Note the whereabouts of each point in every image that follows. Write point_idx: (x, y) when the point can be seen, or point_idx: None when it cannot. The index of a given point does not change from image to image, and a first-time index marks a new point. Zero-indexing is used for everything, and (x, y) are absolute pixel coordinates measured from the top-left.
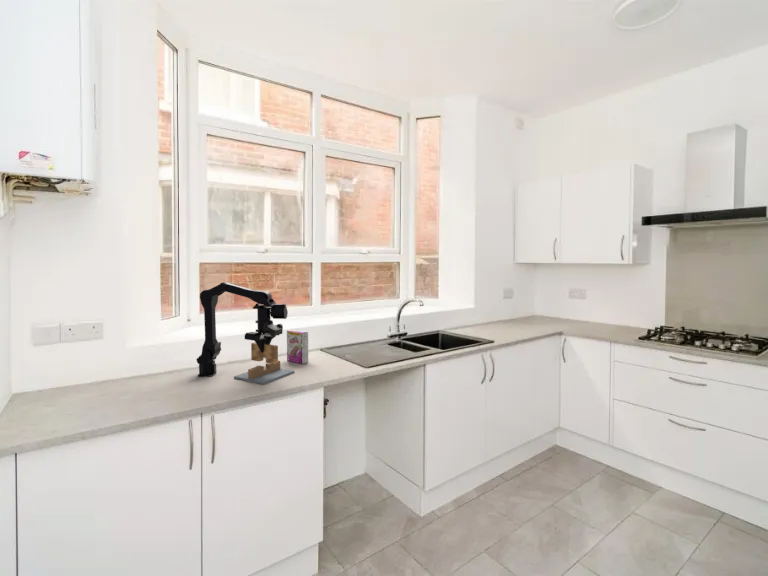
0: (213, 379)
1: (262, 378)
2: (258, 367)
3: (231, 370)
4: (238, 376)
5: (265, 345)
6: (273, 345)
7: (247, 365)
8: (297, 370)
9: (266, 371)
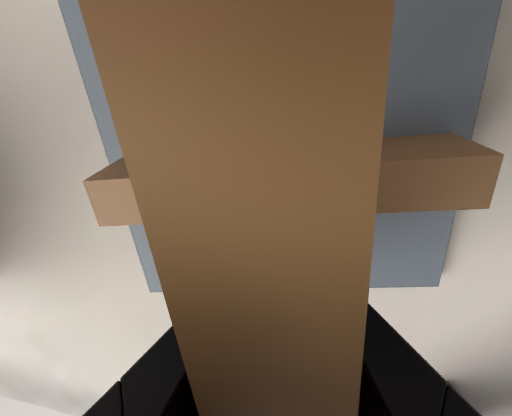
0: (492, 344)
1: (404, 66)
2: (385, 176)
3: None
4: (433, 260)
5: (362, 358)
6: (189, 111)
7: None
8: (11, 40)
9: None
